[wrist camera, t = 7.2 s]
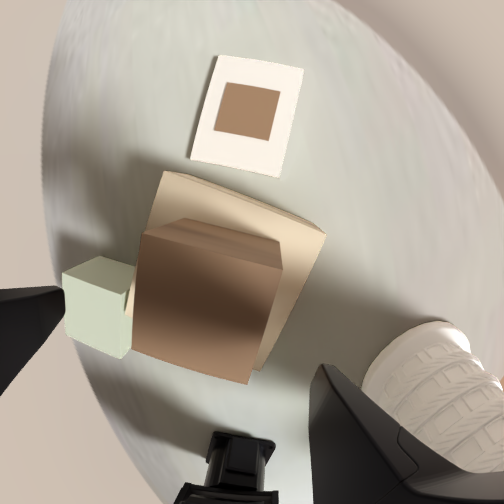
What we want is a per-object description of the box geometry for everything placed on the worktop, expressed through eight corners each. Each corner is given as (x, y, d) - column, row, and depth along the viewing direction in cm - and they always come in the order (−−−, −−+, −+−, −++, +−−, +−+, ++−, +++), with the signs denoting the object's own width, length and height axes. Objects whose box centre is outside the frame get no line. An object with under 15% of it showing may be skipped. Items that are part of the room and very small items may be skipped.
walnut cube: (255, 327, 15) (247, 384, 10) (169, 303, 15) (131, 349, 10) (279, 241, 14) (282, 270, 9) (184, 217, 14) (141, 232, 9)
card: (279, 178, 18) (279, 177, 17) (192, 160, 18) (189, 159, 17) (303, 72, 16) (304, 68, 15) (220, 58, 16) (218, 54, 15)
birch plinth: (263, 332, 21) (259, 371, 16) (154, 287, 20) (124, 314, 16) (313, 223, 19) (326, 234, 14) (190, 174, 18) (164, 170, 14)
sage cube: (147, 327, 21) (120, 359, 16) (98, 309, 21) (65, 334, 16) (153, 271, 20) (121, 294, 15) (100, 255, 20) (61, 272, 15)
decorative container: (452, 397, 21) (519, 509, 3) (357, 429, 22) (392, 578, 5) (472, 306, 19) (599, 417, 1) (361, 339, 20) (454, 548, 2)
